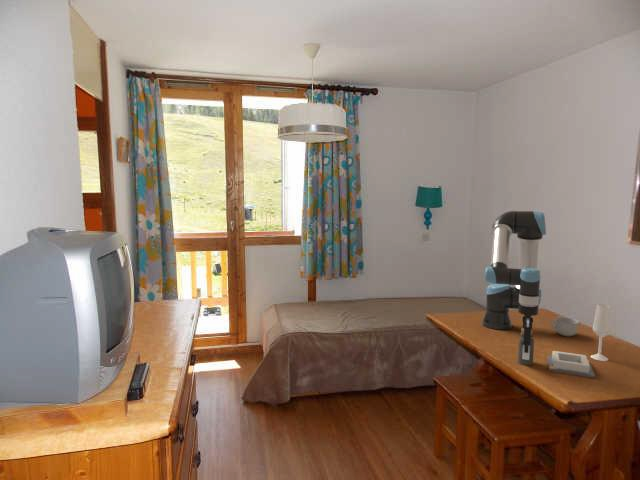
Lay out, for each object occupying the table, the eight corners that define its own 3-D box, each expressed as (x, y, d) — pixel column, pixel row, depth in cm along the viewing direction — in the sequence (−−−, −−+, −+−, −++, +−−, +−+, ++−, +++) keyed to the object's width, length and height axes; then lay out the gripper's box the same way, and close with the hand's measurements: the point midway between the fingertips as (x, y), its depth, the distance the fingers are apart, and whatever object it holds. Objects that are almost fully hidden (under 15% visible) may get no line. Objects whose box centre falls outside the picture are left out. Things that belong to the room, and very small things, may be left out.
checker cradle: (547, 357, 190) (547, 348, 189) (589, 363, 183) (589, 354, 183) (549, 370, 175) (549, 361, 175) (594, 378, 169) (595, 368, 168)
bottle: (528, 360, 187) (530, 327, 185) (535, 365, 181) (537, 331, 179) (515, 360, 187) (517, 327, 185) (522, 365, 181) (523, 331, 179)
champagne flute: (600, 361, 185) (604, 308, 182) (586, 355, 191) (590, 304, 188) (612, 360, 187) (616, 307, 184) (598, 354, 193) (602, 303, 190)
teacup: (571, 331, 225) (572, 316, 224) (582, 338, 214) (583, 323, 213) (544, 330, 226) (545, 315, 225) (553, 337, 215) (554, 322, 214)
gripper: (539, 311, 171) (535, 366, 173) (537, 300, 188) (534, 350, 190) (518, 309, 174) (515, 363, 177) (518, 298, 191) (516, 347, 193)
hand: (525, 356), depth 183 cm, fingers closed on bottle, 6 cm apart
